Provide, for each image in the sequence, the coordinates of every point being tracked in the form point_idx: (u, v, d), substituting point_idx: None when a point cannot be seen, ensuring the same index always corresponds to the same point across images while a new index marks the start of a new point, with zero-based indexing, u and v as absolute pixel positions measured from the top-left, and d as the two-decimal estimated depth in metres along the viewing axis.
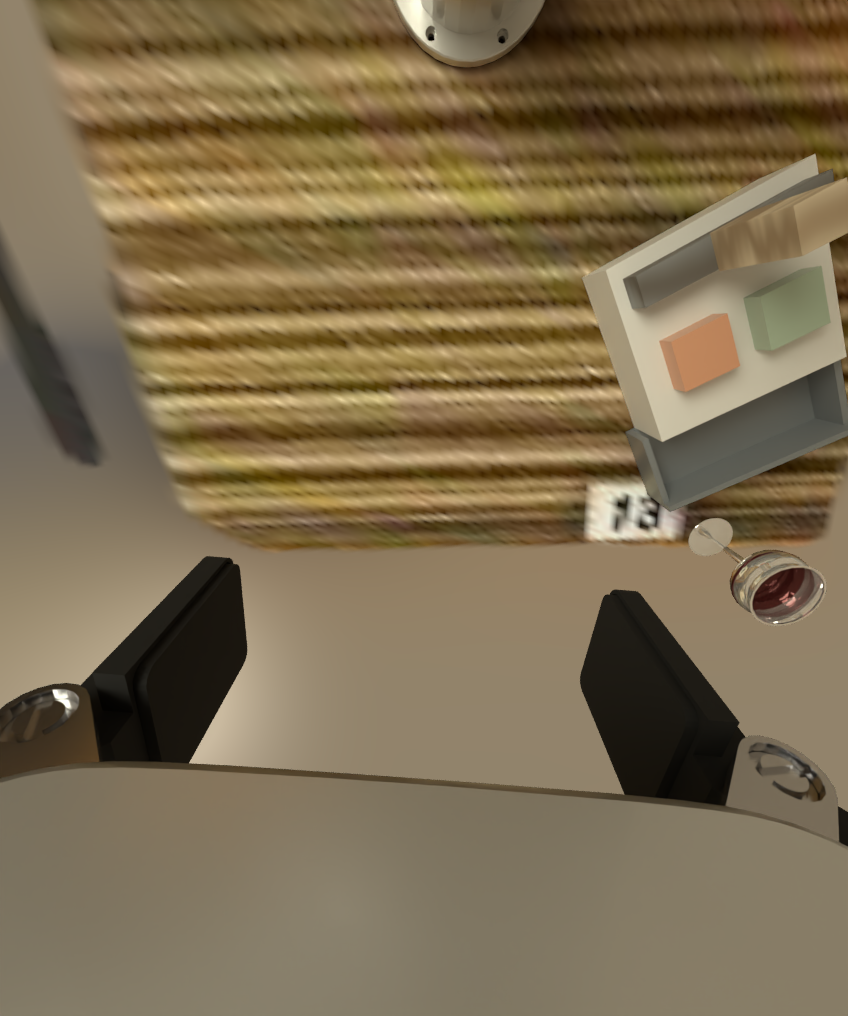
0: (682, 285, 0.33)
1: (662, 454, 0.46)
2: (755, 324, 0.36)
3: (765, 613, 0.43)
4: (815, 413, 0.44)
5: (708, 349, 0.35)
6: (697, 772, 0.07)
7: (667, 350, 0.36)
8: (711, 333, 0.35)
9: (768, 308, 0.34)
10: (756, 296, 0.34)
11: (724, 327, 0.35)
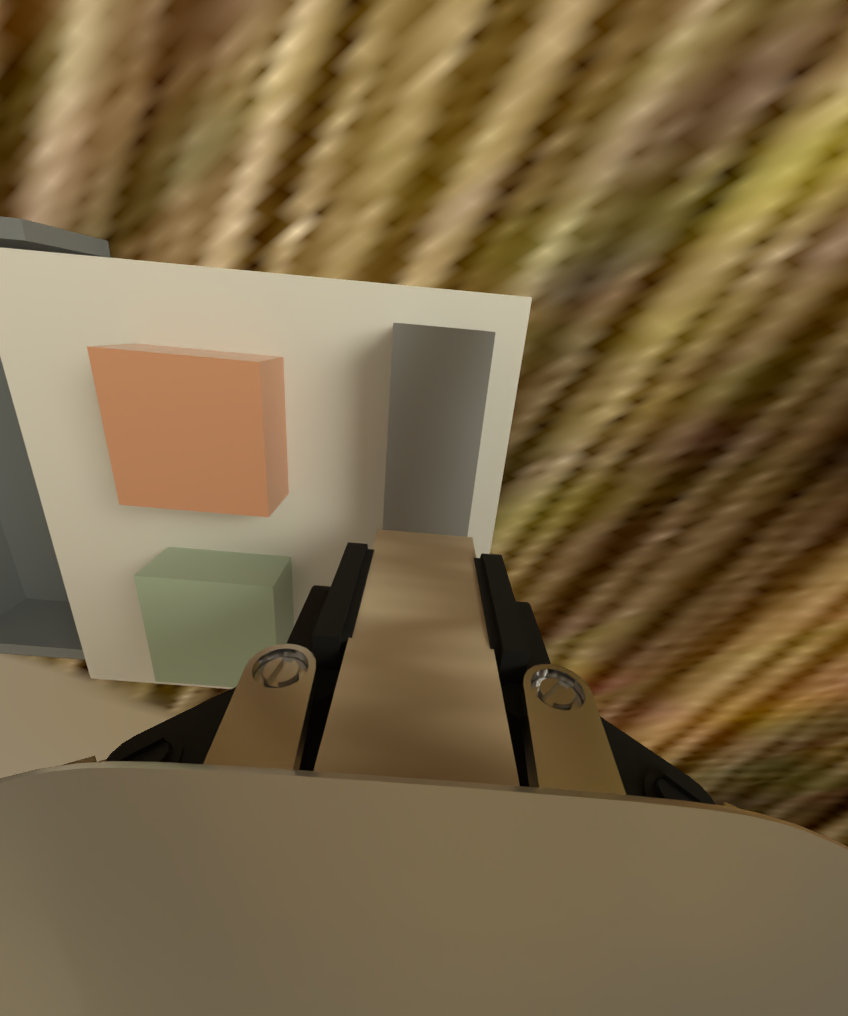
0: (394, 440, 0.12)
1: None
2: (221, 561, 0.15)
3: None
4: (33, 601, 0.23)
5: (194, 448, 0.12)
6: None
7: (243, 356, 0.12)
8: (235, 468, 0.13)
9: (238, 594, 0.14)
10: (279, 580, 0.15)
11: (236, 501, 0.13)
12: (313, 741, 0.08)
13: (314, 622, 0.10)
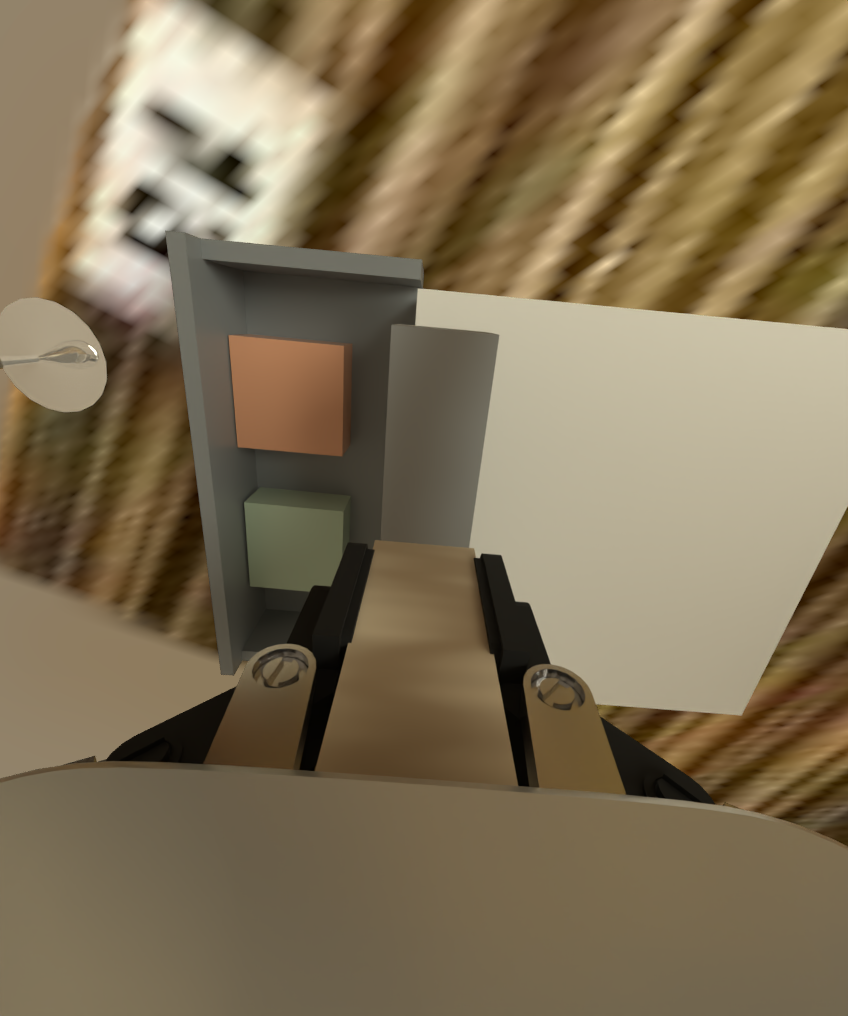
0: (393, 448, 0.11)
1: (327, 329, 0.19)
2: (298, 500, 0.20)
3: None
4: (274, 611, 0.24)
5: None
6: None
7: (259, 336, 0.18)
8: None
9: None
10: None
11: None
12: (313, 741, 0.08)
13: (314, 622, 0.10)
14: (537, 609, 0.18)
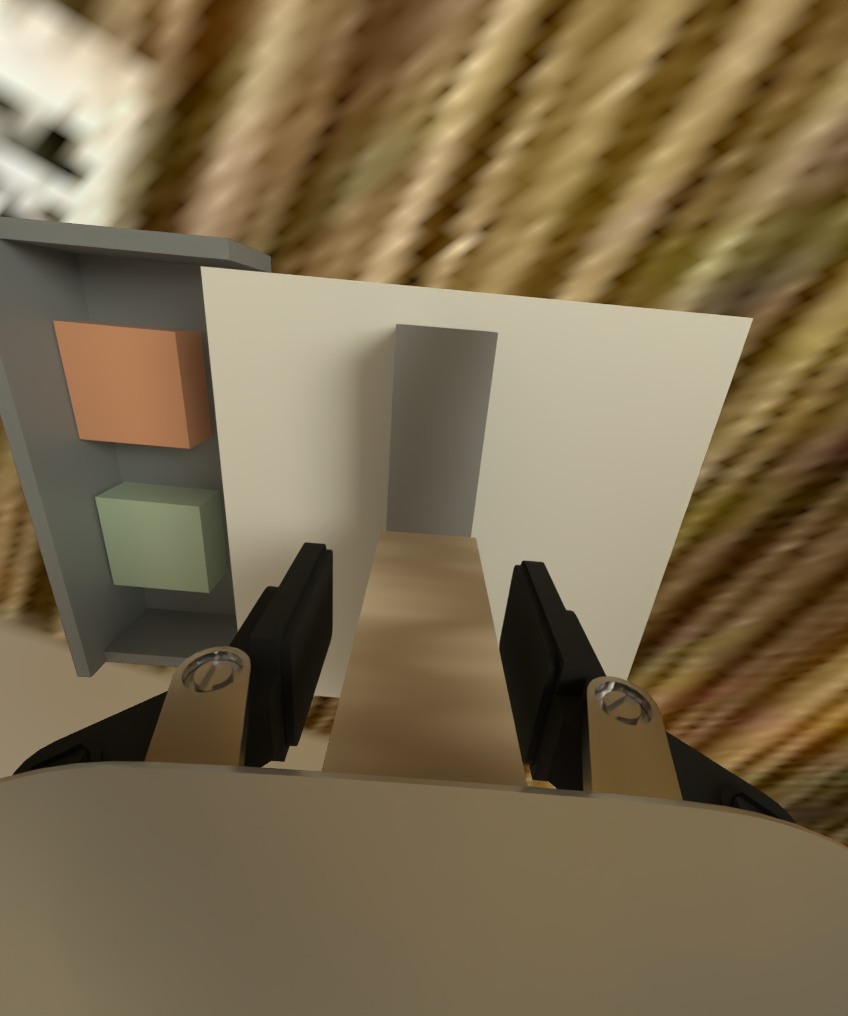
0: (397, 442, 0.12)
1: (172, 316, 0.18)
2: (156, 495, 0.20)
3: None
4: (155, 611, 0.23)
5: None
6: (557, 709, 0.08)
7: (94, 322, 0.17)
8: None
9: None
10: None
11: None
12: (254, 740, 0.08)
13: None
14: None
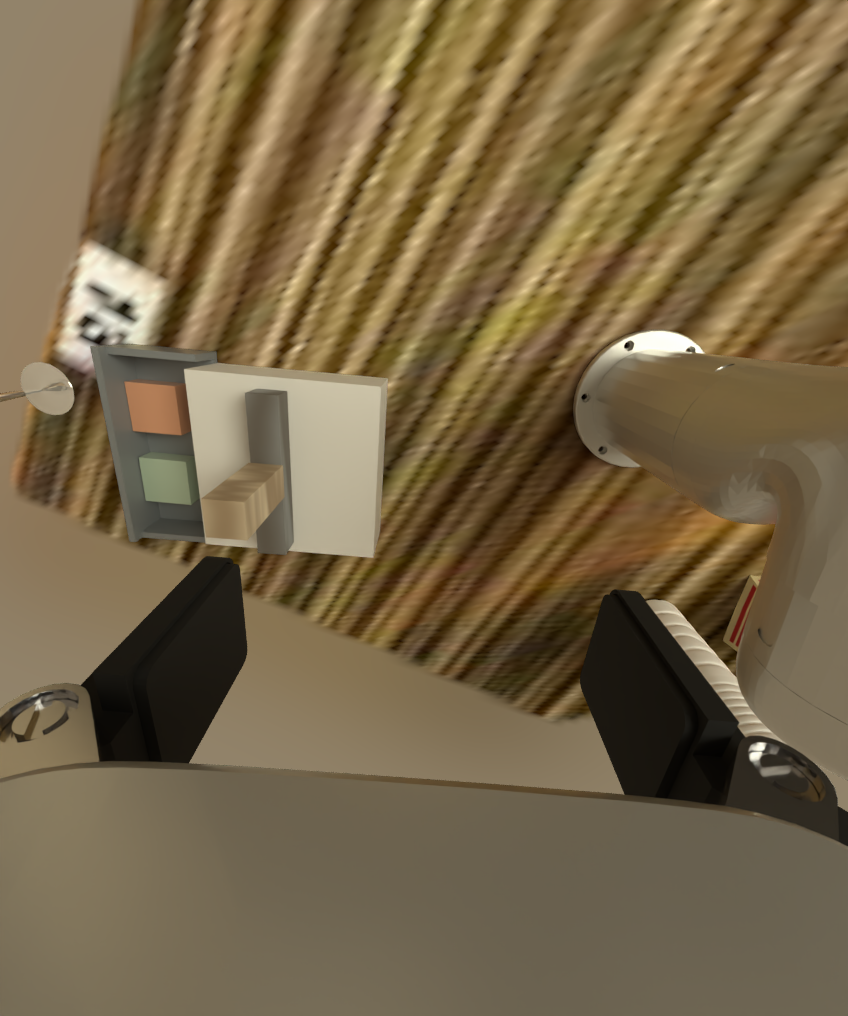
0: (250, 430, 0.34)
1: (173, 377, 0.41)
2: (166, 457, 0.42)
3: None
4: (165, 519, 0.46)
5: None
6: (697, 773, 0.07)
7: (140, 381, 0.40)
8: None
9: None
10: None
11: None
12: None
13: None
14: None
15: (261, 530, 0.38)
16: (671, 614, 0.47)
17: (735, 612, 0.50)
